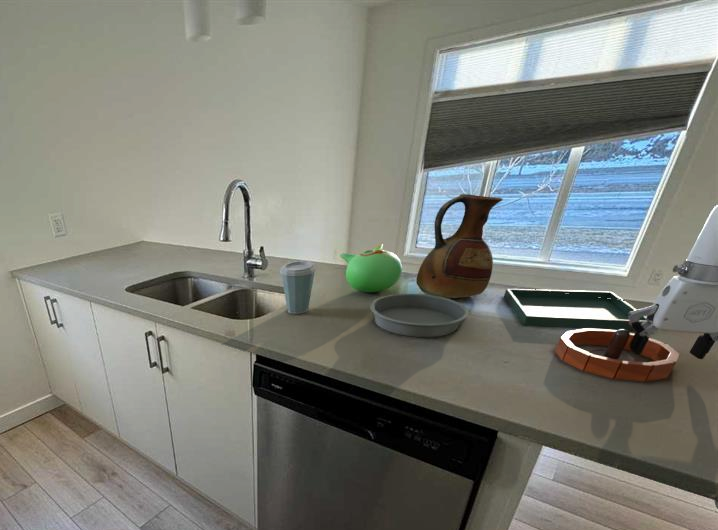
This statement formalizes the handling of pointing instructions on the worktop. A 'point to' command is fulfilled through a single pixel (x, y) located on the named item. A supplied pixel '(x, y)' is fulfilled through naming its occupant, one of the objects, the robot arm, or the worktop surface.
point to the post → (616, 347)
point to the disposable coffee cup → (298, 285)
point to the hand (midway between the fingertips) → (664, 353)
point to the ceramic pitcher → (459, 253)
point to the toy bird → (372, 269)
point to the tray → (570, 309)
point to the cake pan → (418, 314)
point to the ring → (612, 367)
